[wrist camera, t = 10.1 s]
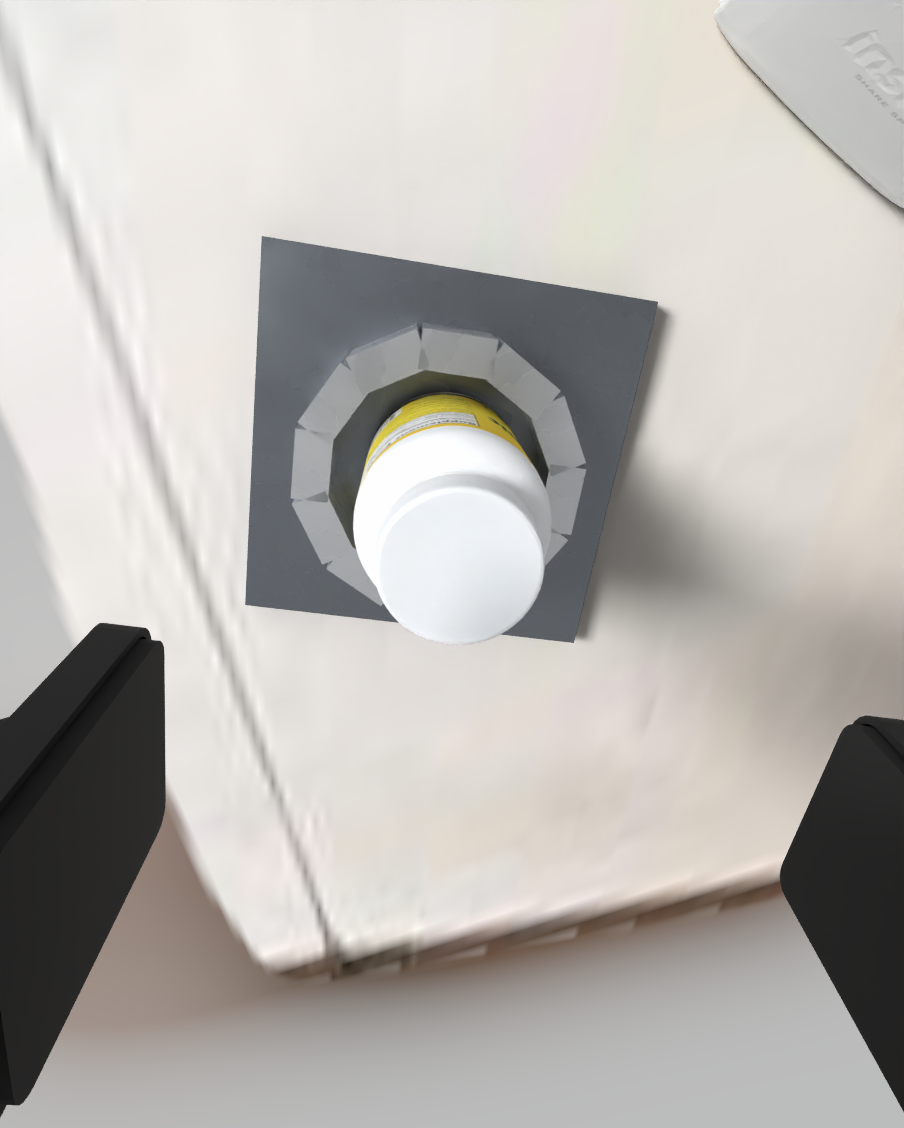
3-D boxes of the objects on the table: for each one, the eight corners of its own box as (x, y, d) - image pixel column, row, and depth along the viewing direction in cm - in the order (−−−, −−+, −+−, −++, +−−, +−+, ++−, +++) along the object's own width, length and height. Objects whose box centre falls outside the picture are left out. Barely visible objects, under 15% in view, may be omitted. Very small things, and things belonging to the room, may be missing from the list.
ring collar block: (649, 300, 24) (683, 305, 21) (568, 631, 29) (587, 675, 26) (268, 237, 23) (243, 231, 20) (251, 593, 28) (229, 635, 25)
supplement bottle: (529, 519, 26) (588, 651, 17) (387, 548, 26) (370, 693, 17) (506, 373, 24) (558, 434, 15) (351, 405, 24) (311, 485, 15)
